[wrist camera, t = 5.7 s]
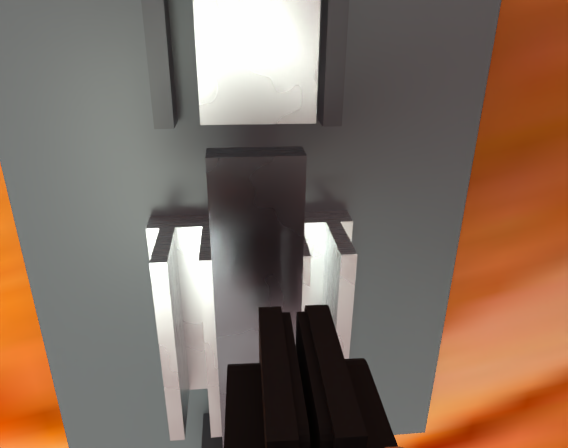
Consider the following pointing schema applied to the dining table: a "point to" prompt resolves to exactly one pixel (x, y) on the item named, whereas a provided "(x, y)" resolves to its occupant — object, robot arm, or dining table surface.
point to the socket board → (193, 185)
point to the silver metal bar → (253, 244)
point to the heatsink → (200, 300)
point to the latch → (257, 61)
